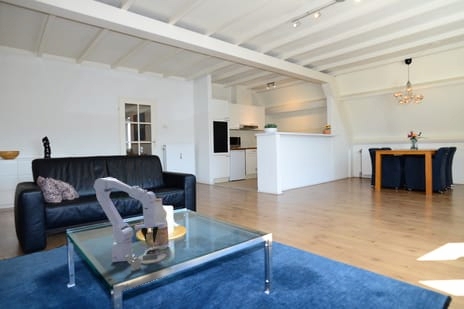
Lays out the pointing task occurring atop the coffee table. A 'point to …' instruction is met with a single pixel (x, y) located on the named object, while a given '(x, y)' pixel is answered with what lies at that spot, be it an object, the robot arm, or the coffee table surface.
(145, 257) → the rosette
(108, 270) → the coffee table surface
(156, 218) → the fruit juice
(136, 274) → the coffee table surface
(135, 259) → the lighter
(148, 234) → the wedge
